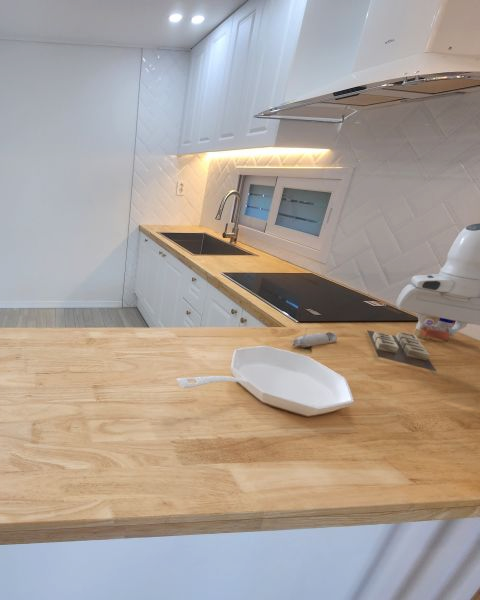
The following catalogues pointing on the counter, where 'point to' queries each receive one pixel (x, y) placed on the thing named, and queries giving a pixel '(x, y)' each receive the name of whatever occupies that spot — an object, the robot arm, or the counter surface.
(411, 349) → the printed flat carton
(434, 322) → the sprinkles bottle
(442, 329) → the s tile
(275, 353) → the pan
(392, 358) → the letter board
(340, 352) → the counter surface
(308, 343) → the torpedo
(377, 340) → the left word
